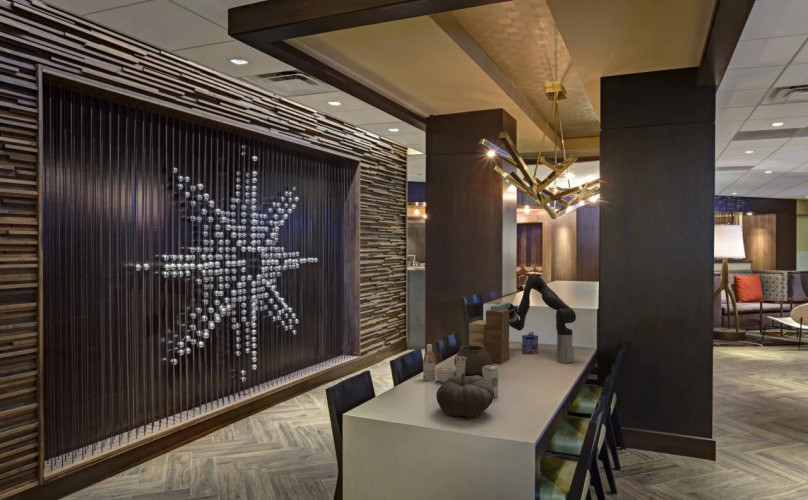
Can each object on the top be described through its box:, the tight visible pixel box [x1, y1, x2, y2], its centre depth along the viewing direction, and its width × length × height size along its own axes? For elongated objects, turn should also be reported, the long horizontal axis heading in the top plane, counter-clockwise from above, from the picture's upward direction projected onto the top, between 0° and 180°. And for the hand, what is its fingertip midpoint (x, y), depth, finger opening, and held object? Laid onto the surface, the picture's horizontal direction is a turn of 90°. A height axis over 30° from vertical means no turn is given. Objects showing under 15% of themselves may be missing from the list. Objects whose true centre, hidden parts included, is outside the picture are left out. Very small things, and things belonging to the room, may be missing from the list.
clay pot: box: [453, 344, 493, 376], centre depth 305 cm, size 22×21×15 cm
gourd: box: [436, 373, 495, 418], centre depth 234 cm, size 25×25×17 cm
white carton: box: [481, 364, 499, 398], centre depth 260 cm, size 6×6×14 cm
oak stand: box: [468, 319, 486, 348], centre depth 355 cm, size 18×10×22 cm, turn 152°
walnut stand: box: [485, 308, 510, 365], centre depth 340 cm, size 16×10×32 cm, turn 152°
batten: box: [490, 301, 510, 312], centre depth 344 cm, size 26×4×3 cm, turn 152°
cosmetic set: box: [422, 343, 467, 384], centre depth 288 cm, size 25×9×19 cm, turn 61°
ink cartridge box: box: [521, 331, 539, 355], centre depth 364 cm, size 10×6×14 cm, turn 115°
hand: (504, 304), depth 351 cm, fingers open, 8 cm apart
